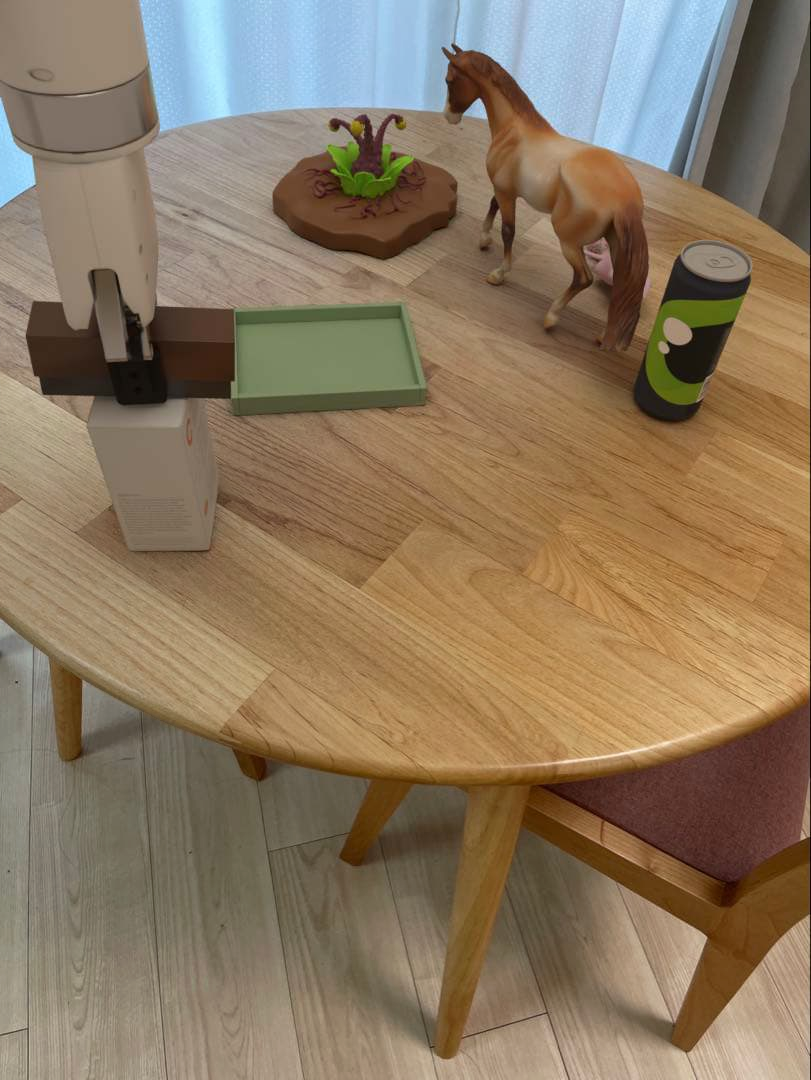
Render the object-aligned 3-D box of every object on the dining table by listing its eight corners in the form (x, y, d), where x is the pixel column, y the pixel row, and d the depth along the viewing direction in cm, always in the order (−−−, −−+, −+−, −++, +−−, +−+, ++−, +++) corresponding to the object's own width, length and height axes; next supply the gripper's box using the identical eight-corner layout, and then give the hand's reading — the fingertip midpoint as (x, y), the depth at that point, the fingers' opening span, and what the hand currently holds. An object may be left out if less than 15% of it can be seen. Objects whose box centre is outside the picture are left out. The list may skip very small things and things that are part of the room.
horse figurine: (422, 240, 98) (437, 40, 82) (479, 223, 101) (504, 27, 85) (602, 402, 81) (664, 191, 66) (664, 377, 84) (737, 169, 68)
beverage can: (678, 376, 84) (730, 234, 73) (710, 418, 81) (771, 275, 69) (619, 385, 83) (664, 242, 71) (650, 429, 79) (701, 285, 68)
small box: (142, 477, 72) (106, 348, 62) (221, 477, 72) (197, 348, 62) (126, 553, 67) (83, 425, 57) (210, 553, 67) (182, 425, 57)
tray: (233, 415, 77) (231, 398, 76) (230, 325, 86) (228, 308, 84) (425, 405, 80) (427, 388, 78) (404, 318, 88) (405, 301, 86)
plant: (243, 219, 98) (234, 117, 90) (335, 151, 110) (335, 56, 101) (398, 275, 93) (404, 173, 84) (478, 197, 104) (491, 101, 96)
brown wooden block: (38, 396, 57) (25, 335, 53) (44, 361, 59) (32, 300, 55) (234, 400, 59) (235, 342, 56) (233, 366, 62) (233, 308, 58)
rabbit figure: (567, 254, 100) (603, 313, 88) (576, 201, 96) (614, 256, 85) (620, 254, 100) (663, 313, 89) (631, 201, 97) (677, 256, 85)
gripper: (26, 37, 50) (97, 309, 64) (-23, 184, 39) (75, 471, 53) (161, 37, 51) (202, 305, 65) (148, 180, 40) (200, 463, 54)
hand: (144, 377), depth 59 cm, fingers closed on brown wooden block, 3 cm apart
